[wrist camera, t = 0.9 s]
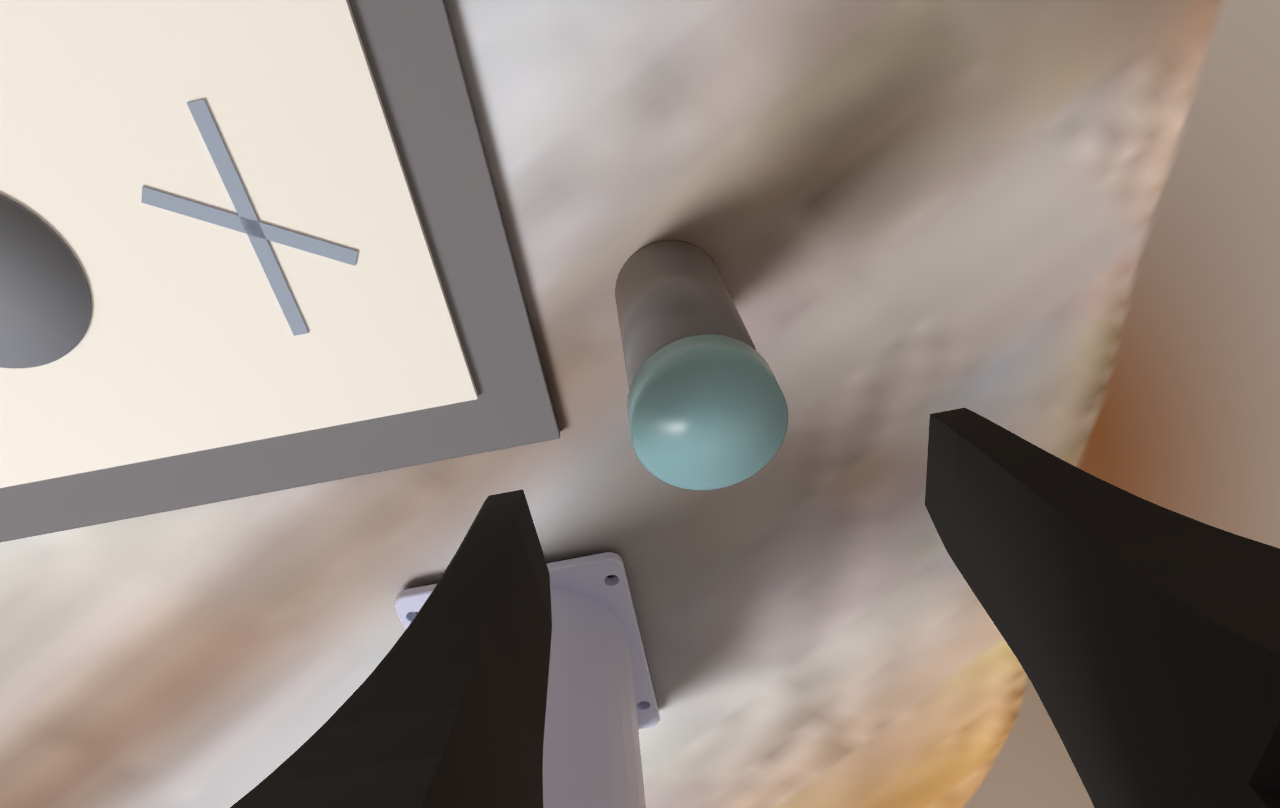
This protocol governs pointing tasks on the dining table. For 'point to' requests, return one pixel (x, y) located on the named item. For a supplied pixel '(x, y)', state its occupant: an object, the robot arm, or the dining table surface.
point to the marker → (693, 372)
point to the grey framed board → (244, 256)
